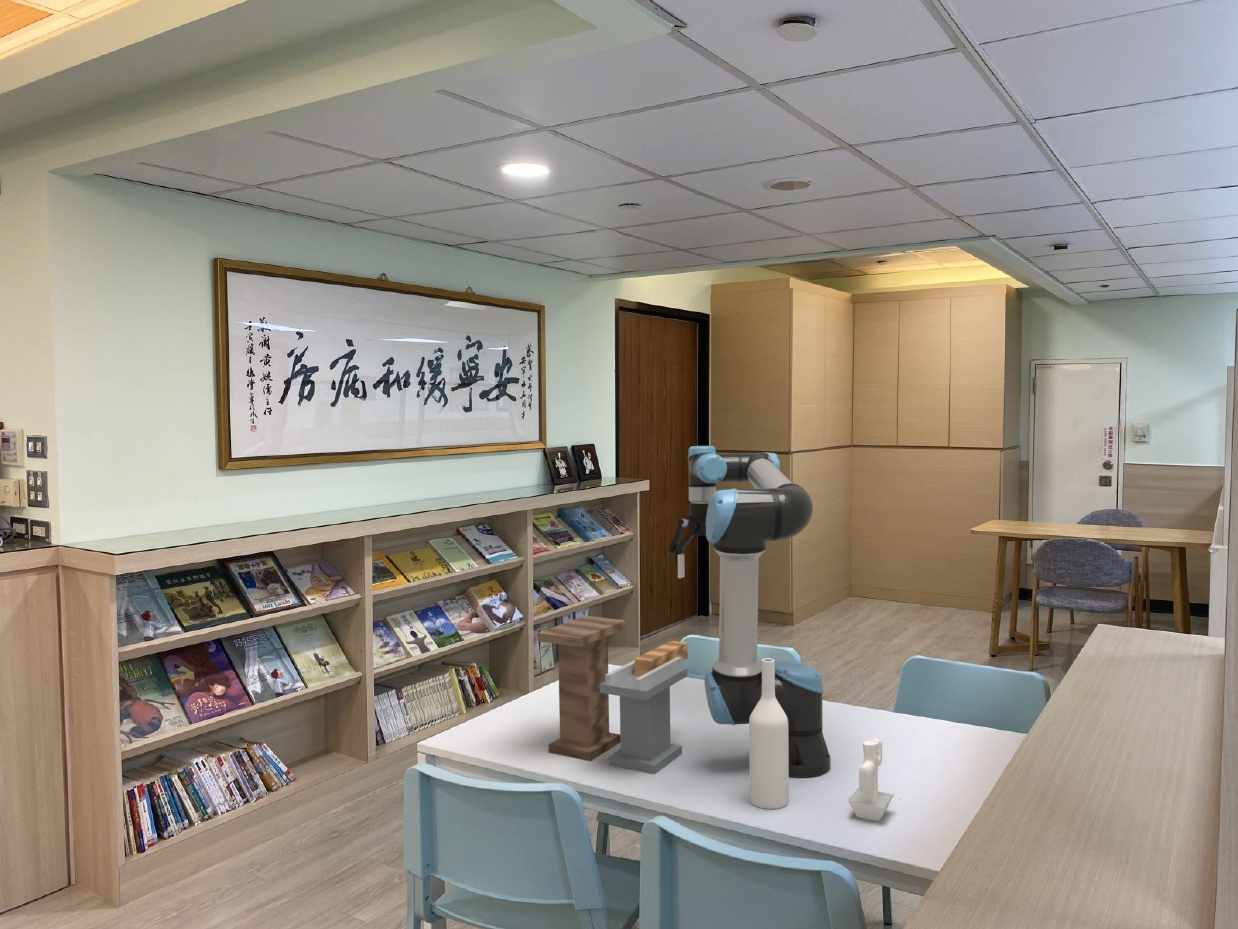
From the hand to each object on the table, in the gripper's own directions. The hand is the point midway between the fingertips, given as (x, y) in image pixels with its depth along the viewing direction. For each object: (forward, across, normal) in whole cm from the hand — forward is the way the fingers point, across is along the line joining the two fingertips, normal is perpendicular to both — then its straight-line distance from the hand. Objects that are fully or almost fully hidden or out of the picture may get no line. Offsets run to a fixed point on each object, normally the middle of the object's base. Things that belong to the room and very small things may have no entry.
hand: (703, 579), depth 250 cm
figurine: (+38, -57, +46) cm, 82 cm away
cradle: (+37, -3, +40) cm, 55 cm away
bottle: (+37, -37, +49) cm, 72 cm away
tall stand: (+36, +14, +40) cm, 56 cm away
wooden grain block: (+16, -3, +32) cm, 36 cm away
